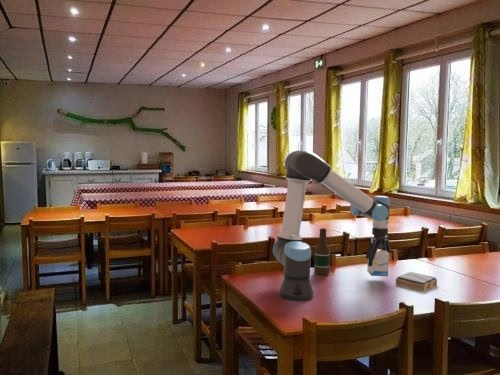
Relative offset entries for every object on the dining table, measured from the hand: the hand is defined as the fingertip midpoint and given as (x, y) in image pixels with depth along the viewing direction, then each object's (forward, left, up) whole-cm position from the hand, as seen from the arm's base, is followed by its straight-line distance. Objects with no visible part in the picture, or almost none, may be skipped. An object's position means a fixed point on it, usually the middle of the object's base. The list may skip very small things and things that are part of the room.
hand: (377, 270), depth 233 cm
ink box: (0, 0, -2) cm, 2 cm away
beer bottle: (-12, +26, -6) cm, 29 cm away
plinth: (+8, -16, -5) cm, 19 cm away
